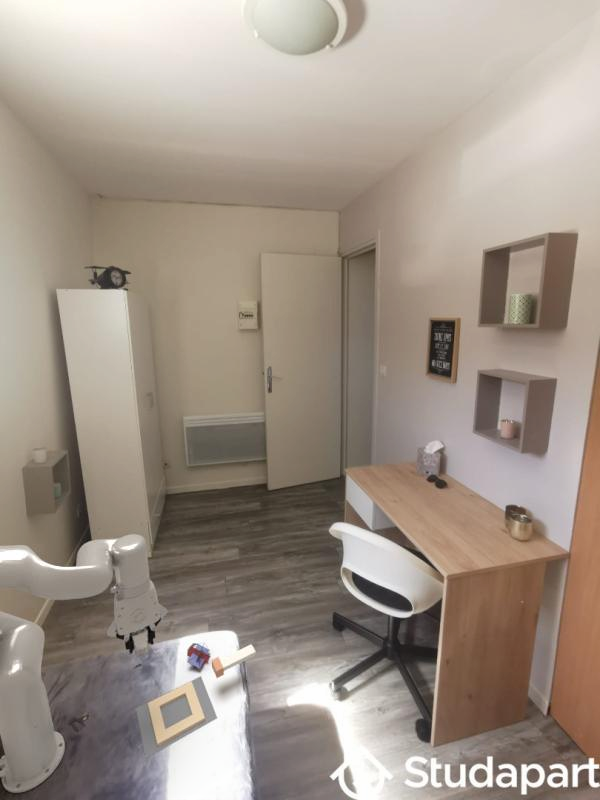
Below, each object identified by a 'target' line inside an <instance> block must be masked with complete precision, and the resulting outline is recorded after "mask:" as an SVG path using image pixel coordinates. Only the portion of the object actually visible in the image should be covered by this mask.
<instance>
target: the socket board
mask: <svg viewBox="0 0 600 800" xmlns="http://www.w3.org/2000/svg"><path fill="white" fill-rule="evenodd" d="M135 710H136V716H137V723H138V726H139V731H140V736H141V737H140V738H141V742H142V746H143V750H144V751H143V753H144V757H145V759H148V758H149V757H151V756H153V755H154V754H156V753H158V752H160V751H162V750H163V749H165V748H167V747H168V746H171V745H172V744H174V743H175V742H178V741H179V740H181V739H183V738H185V737H187V736H188V735H190V734H192V733H194V732H196V731H198V729H200V728H203V727H204V726H206V725H208V724H210V723H211V722H213V721H214V720H216V719H218V716H217V714H216V712H215V708H214V706H213V703H212V701H211V698H210V695H209V693H208V691H207V688H206V685H205V683H204V680H203V678H202V676H199V677H196V678H194V679H193V680H190V681H188V682H186V683H184V684H182V685H180V686H178V687H175V688H174V689H172V690H170V691H168V692H167V693H164V694H163V695H160V696H158V697H156V698H154V699H152V700H150V701H148V702H146V703H144V704H142V705H139V706H138V707H135Z"/></svg>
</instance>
